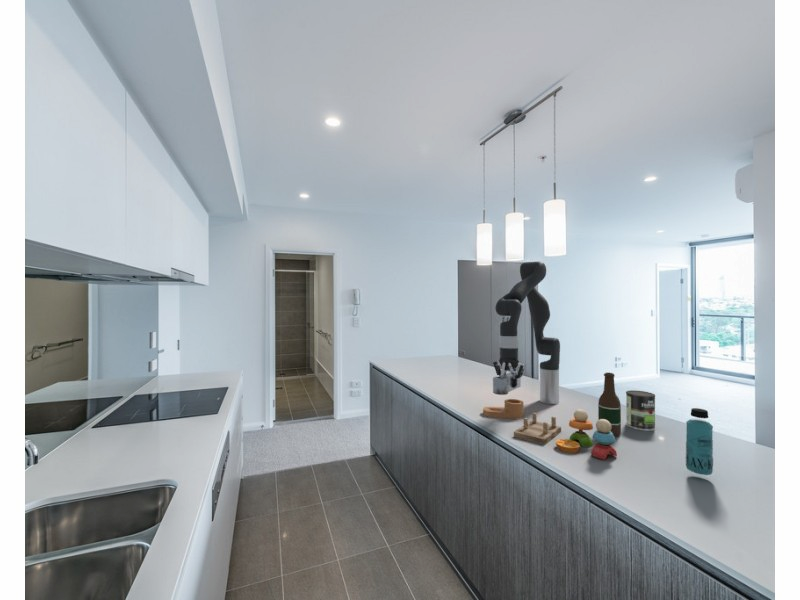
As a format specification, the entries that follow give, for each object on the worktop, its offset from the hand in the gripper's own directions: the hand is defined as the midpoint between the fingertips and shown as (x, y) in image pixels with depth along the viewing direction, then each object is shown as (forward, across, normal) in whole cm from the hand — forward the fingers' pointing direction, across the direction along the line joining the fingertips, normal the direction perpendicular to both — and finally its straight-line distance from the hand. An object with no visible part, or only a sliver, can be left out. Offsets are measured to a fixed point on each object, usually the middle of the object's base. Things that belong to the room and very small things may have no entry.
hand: (509, 386), depth 154 cm
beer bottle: (+17, -34, -18) cm, 42 cm away
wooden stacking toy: (+17, -32, +6) cm, 36 cm away
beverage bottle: (+17, -63, +4) cm, 65 cm away
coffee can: (+17, -42, -35) cm, 57 cm away
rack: (+17, -13, +2) cm, 21 cm away
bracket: (+17, +8, -11) cm, 22 cm away
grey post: (+1, 0, 0) cm, 1 cm away
